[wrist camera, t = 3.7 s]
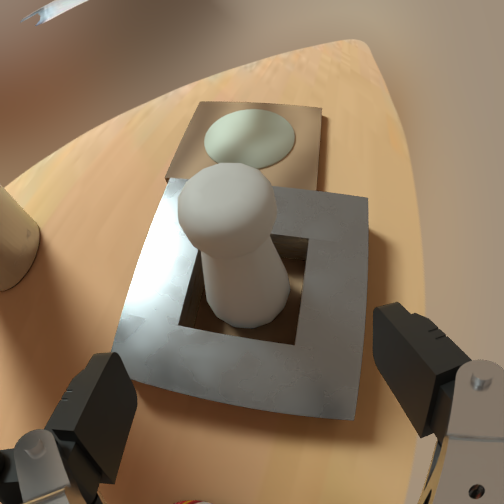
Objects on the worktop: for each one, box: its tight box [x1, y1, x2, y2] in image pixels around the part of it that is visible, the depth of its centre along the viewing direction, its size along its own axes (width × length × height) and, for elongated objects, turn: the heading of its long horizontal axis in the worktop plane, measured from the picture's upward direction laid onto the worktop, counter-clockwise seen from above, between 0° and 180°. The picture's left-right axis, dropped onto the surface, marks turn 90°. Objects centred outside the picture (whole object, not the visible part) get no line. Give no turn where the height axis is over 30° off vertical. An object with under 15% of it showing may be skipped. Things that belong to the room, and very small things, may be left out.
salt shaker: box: [178, 163, 291, 329], centre depth 19 cm, size 6×6×13 cm
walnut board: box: [165, 102, 322, 191], centre depth 31 cm, size 14×12×1 cm
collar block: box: [111, 178, 368, 420], centre depth 23 cm, size 16×16×4 cm
